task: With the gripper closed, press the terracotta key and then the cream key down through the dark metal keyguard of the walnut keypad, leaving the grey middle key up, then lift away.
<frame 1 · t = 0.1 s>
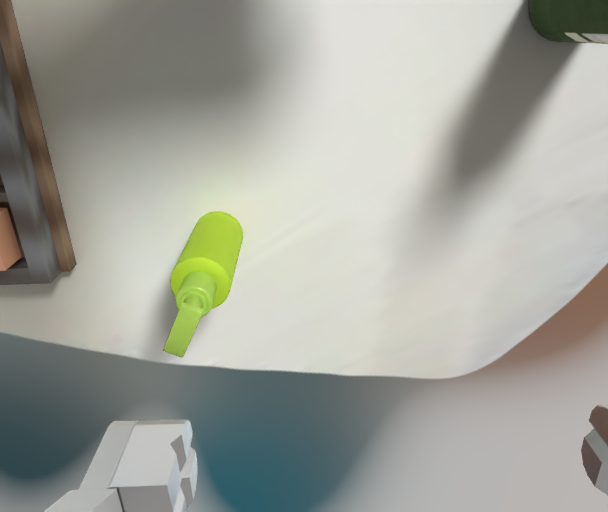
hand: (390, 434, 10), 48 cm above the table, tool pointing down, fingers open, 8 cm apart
soap dispenser: (217, 236, 60), on the table
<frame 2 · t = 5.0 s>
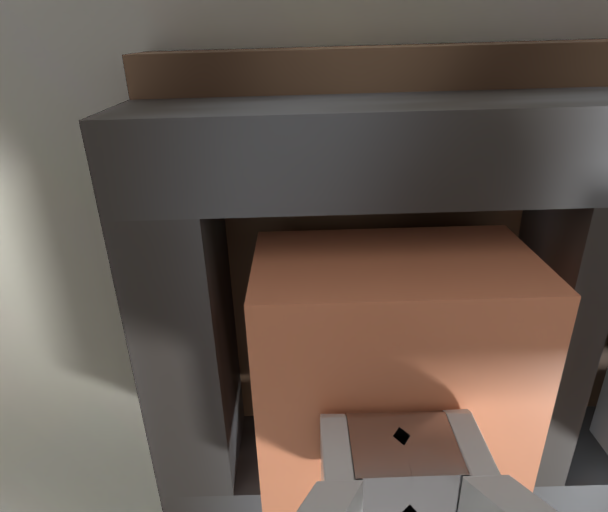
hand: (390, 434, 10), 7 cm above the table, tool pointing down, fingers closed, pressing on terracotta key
terracotta key: (387, 373, 11), point 5 cm above the table, slide at 0.7 cm, touching gripper
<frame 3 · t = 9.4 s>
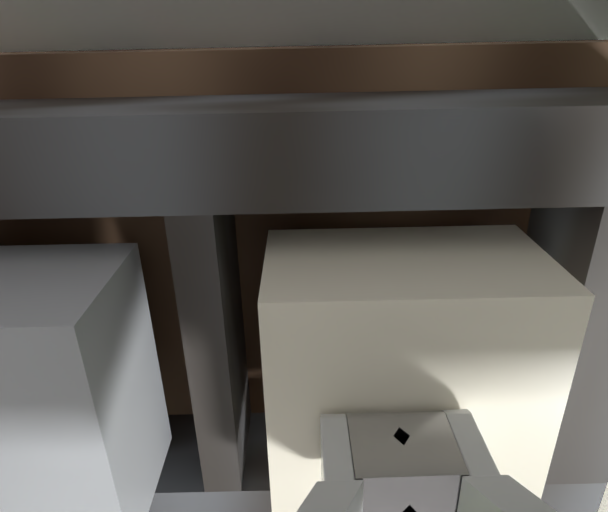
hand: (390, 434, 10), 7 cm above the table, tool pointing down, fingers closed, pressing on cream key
grey key: (1, 399, 11), point 6 cm above the table, slide at 0.0 cm
cream key: (397, 372, 11), point 5 cm above the table, slide at 0.6 cm, touching gripper
keypad: (98, 280, 16), on the table
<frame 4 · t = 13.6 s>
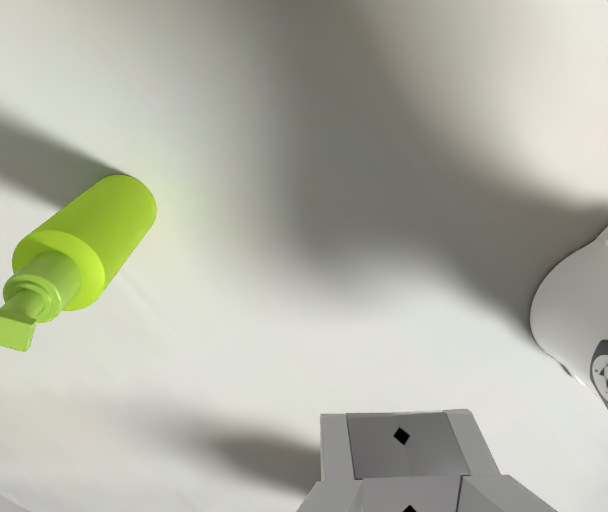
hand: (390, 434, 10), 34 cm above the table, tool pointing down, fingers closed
soap dispenser: (118, 203, 44), on the table
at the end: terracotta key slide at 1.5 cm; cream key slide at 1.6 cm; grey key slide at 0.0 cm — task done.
